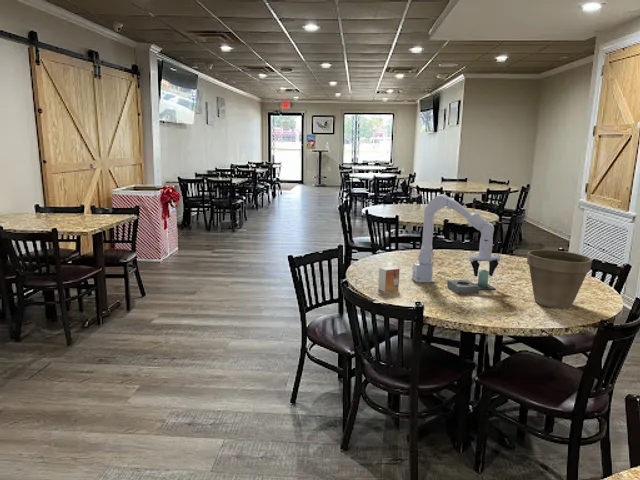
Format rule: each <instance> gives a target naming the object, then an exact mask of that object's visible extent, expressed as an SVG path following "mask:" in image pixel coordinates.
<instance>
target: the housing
mask: <svg viewBox="0 0 640 480" xmlns="http://www.w3.org/2000/svg"><path fill="white" fill-rule="evenodd" d="M476 284H477V283H473V282H472V281H470V280H469V279H448V280H447V286H446V287H447V288H448V289H450V290H451V291H453V292H454V293H455V294H457V295H479V291H480V290H479V286H477V285H476Z"/></svg>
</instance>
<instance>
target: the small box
mask: <svg viewBox="0 0 640 480" xmlns="http://www.w3.org/2000/svg"><path fill="white" fill-rule="evenodd" d="M400 270H401V269H400V268H399V267H395V266H393V265H392V266H384V267H379V268H378V285H377V288H378V290H380V291H382V292H384V293H386V292H395V291H399V284H400Z"/></svg>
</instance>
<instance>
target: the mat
mask: <svg viewBox="0 0 640 480" xmlns="http://www.w3.org/2000/svg"><path fill="white" fill-rule="evenodd" d="M475 284H476V285H477V286H478V283H475ZM495 290H496V287H494V286H492V285H491V284H489V283H488V287H479V291H495Z"/></svg>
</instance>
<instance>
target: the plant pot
mask: <svg viewBox="0 0 640 480" xmlns="http://www.w3.org/2000/svg"><path fill="white" fill-rule="evenodd" d="M526 253H527V256H526V263H527V265H528V266H529V273H530V281H531V286H532V287H531V288H532V293H533V294H532V295H533V299H534V301H535V303H537V304H539V305H542V306H545V307H548V308H553V309H568V308H571V307H572V305H573V304H574V302H575V299H576V297H577V296H578V293H579V291H580V289H581V287H582V284H583V283H584V280H585V278H586V276H587V275H588V274H587V273H589V272H590V271H591V268H592V263H593V259H592V258H591V257H589V256H586V255H583V254H580V253H576V252H575V253H574V252H570V251H564V250H563V251H562V250H554V249H533V250H532V249H531V250H529V251H528V252H526Z"/></svg>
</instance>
